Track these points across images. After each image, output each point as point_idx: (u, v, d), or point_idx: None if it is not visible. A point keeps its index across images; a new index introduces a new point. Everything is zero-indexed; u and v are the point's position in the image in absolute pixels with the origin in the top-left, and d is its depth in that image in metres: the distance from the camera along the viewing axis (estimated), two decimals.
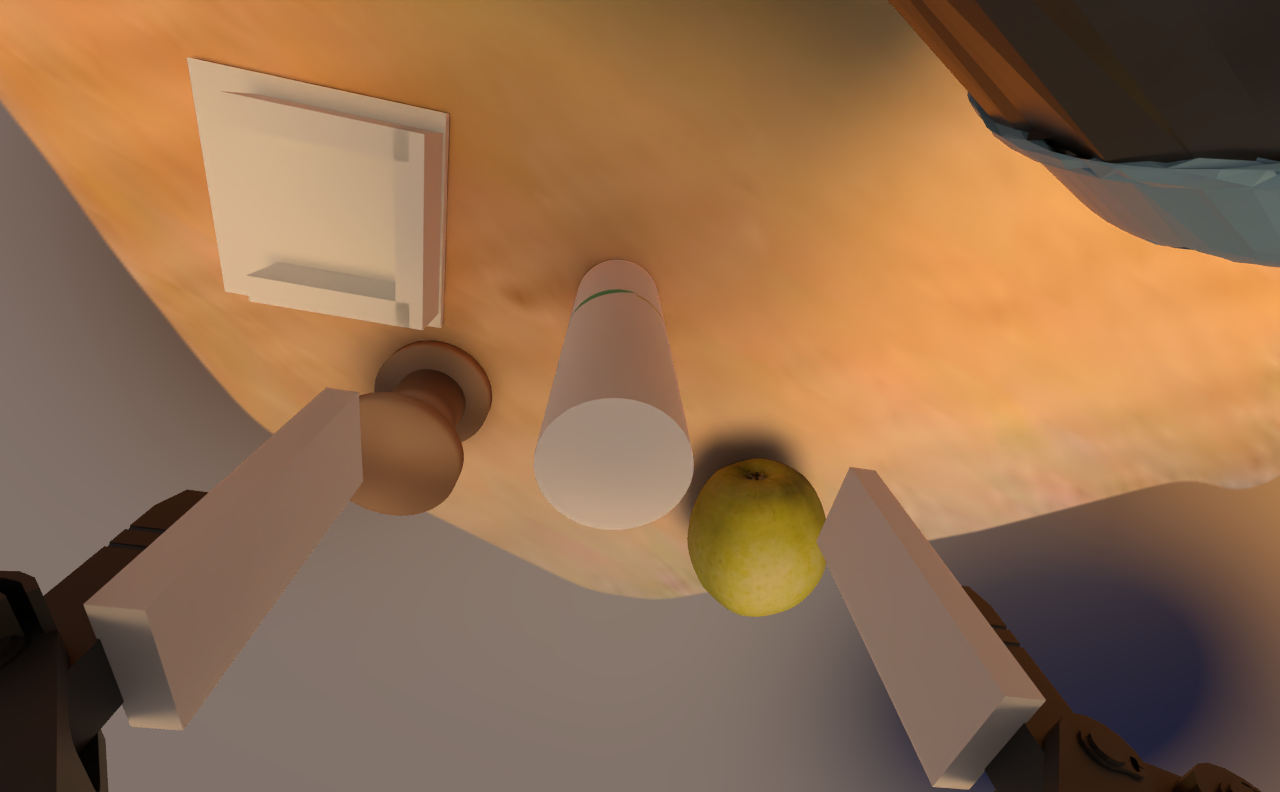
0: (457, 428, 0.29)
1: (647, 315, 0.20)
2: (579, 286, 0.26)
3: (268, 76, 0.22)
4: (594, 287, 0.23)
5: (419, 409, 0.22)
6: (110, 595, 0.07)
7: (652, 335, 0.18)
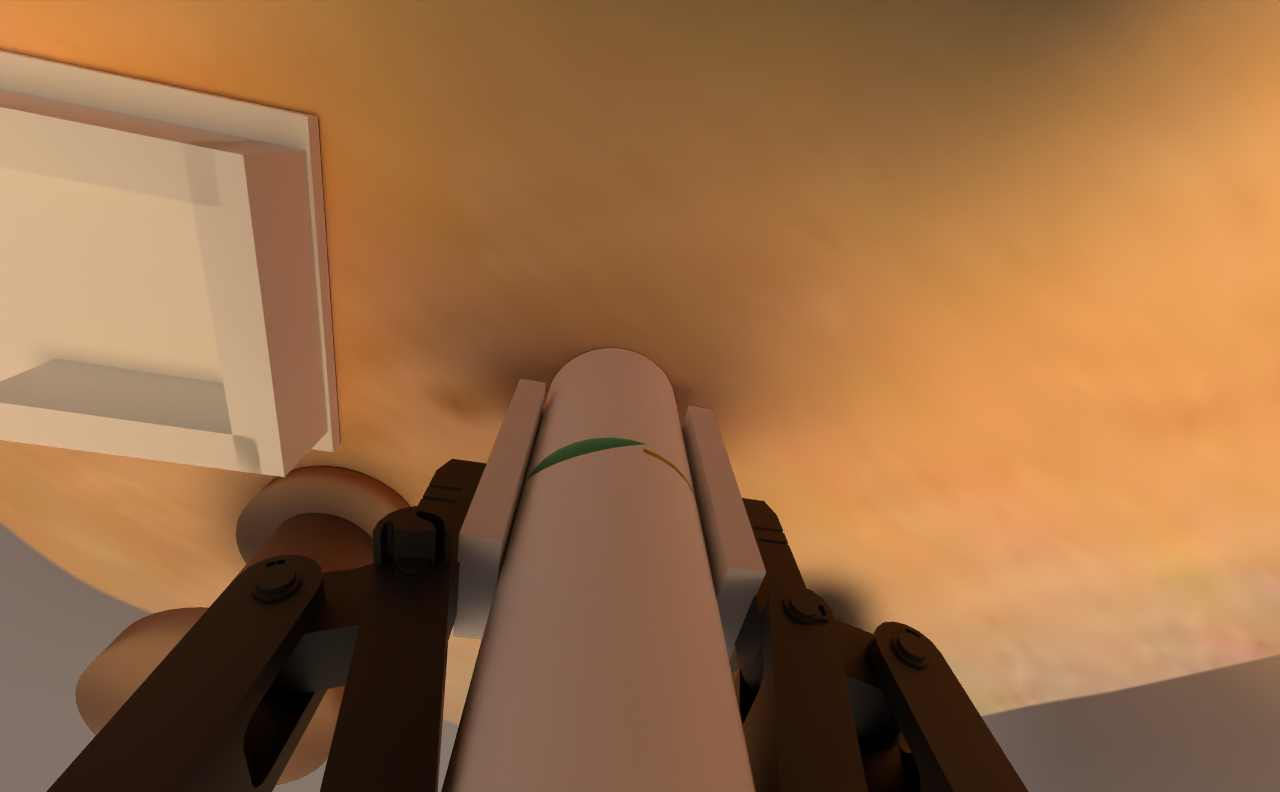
0: None
1: (667, 515, 0.10)
2: (549, 393, 0.16)
3: None
4: (568, 422, 0.13)
5: None
6: (472, 528, 0.10)
7: (682, 600, 0.08)
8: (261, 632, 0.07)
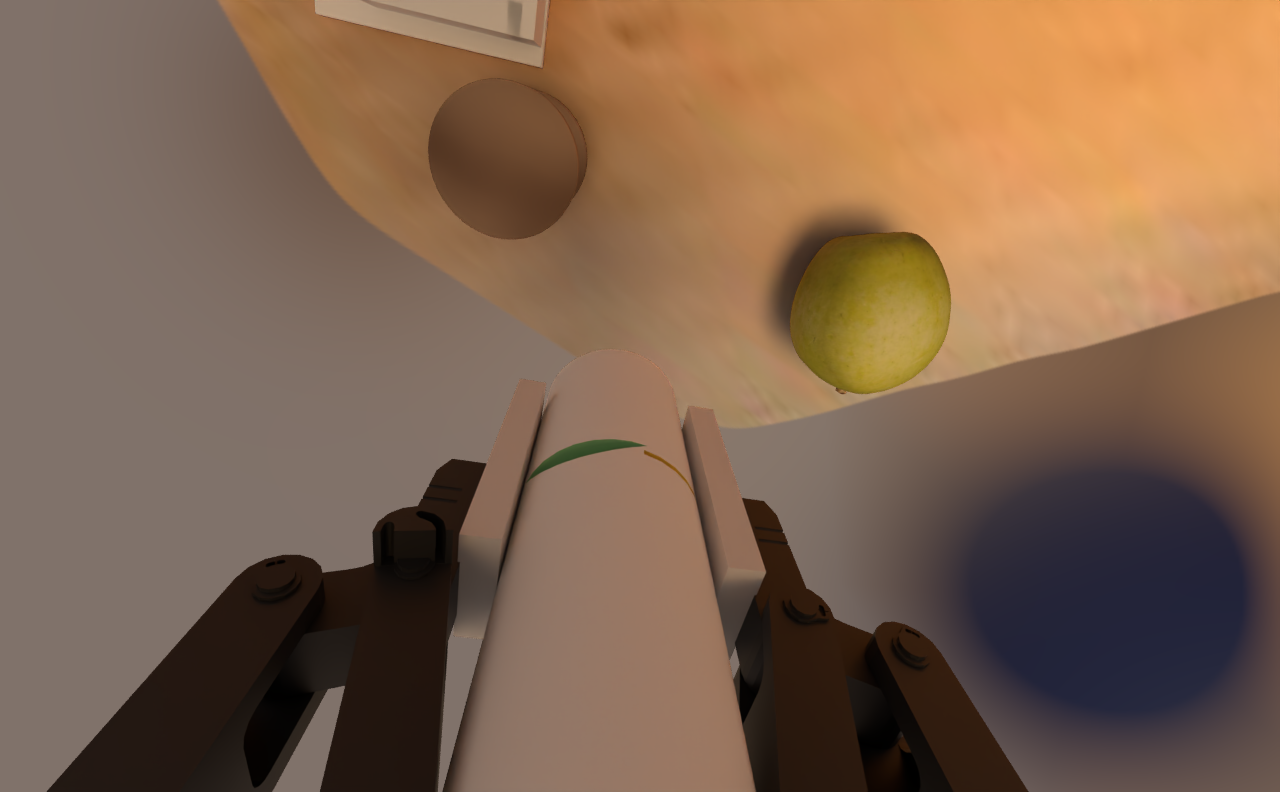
0: None
1: (667, 518, 0.10)
2: (549, 394, 0.16)
3: None
4: (568, 423, 0.13)
5: (541, 95, 0.21)
6: (472, 528, 0.10)
7: (683, 603, 0.08)
8: (261, 632, 0.07)
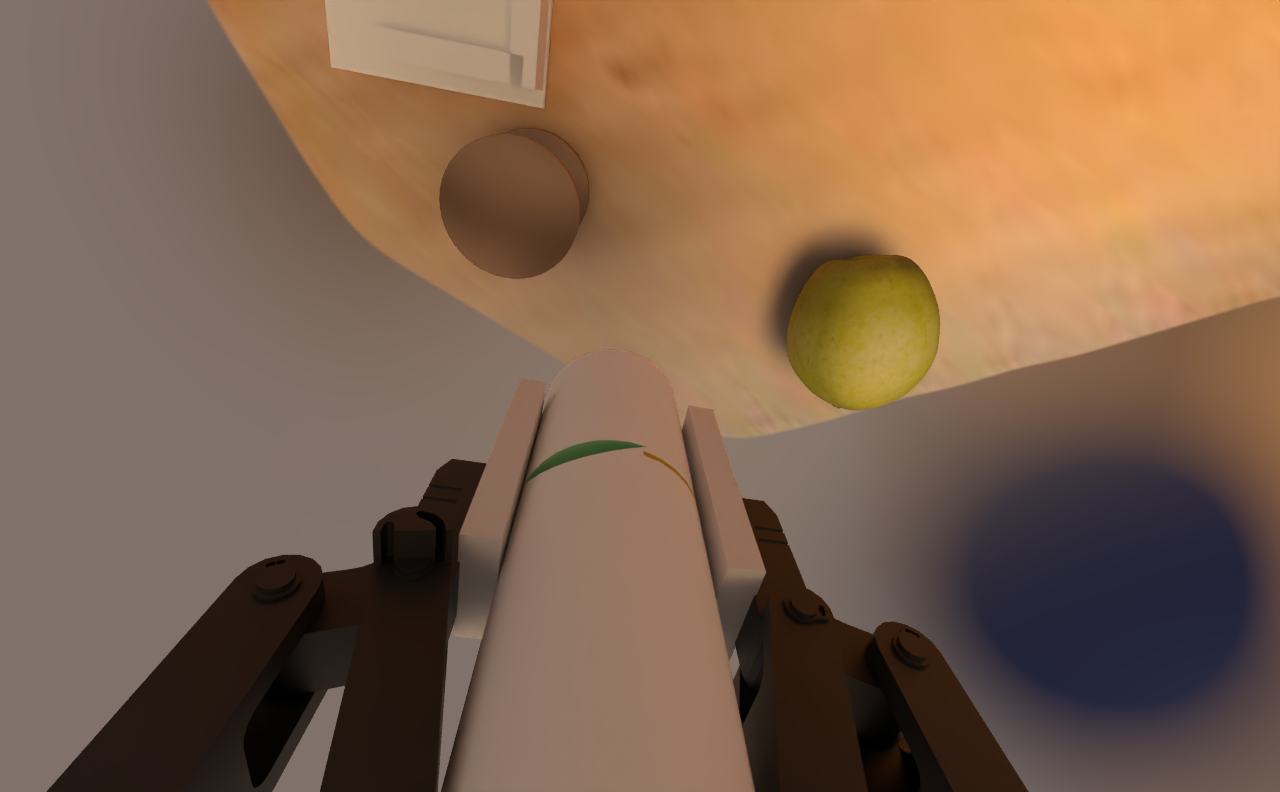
0: None
1: (667, 519, 0.10)
2: (549, 394, 0.16)
3: None
4: (568, 424, 0.13)
5: (543, 147, 0.22)
6: (472, 528, 0.10)
7: (683, 605, 0.08)
8: (261, 632, 0.07)
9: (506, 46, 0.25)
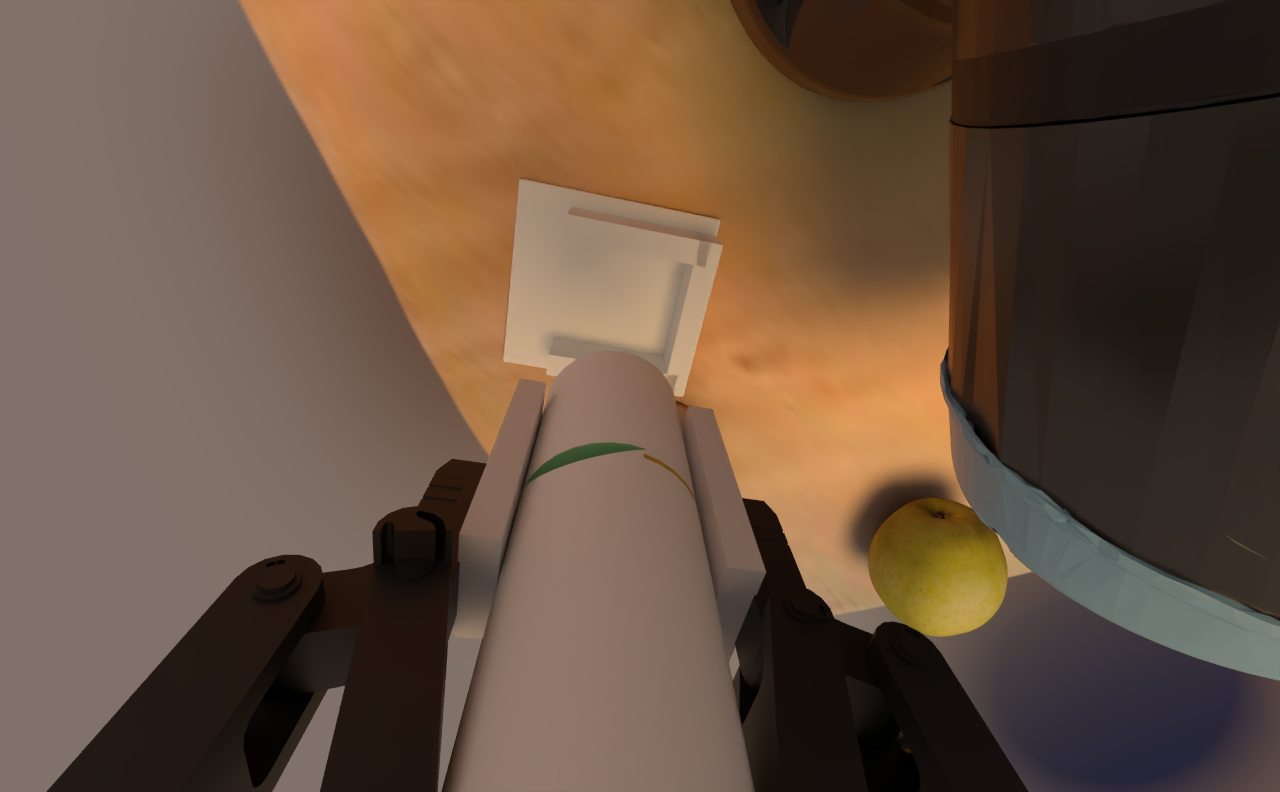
0: None
1: (667, 522, 0.10)
2: (548, 396, 0.16)
3: (582, 193, 0.27)
4: (567, 426, 0.13)
5: None
6: (472, 528, 0.10)
7: (683, 610, 0.08)
8: (261, 632, 0.07)
9: (653, 348, 0.30)
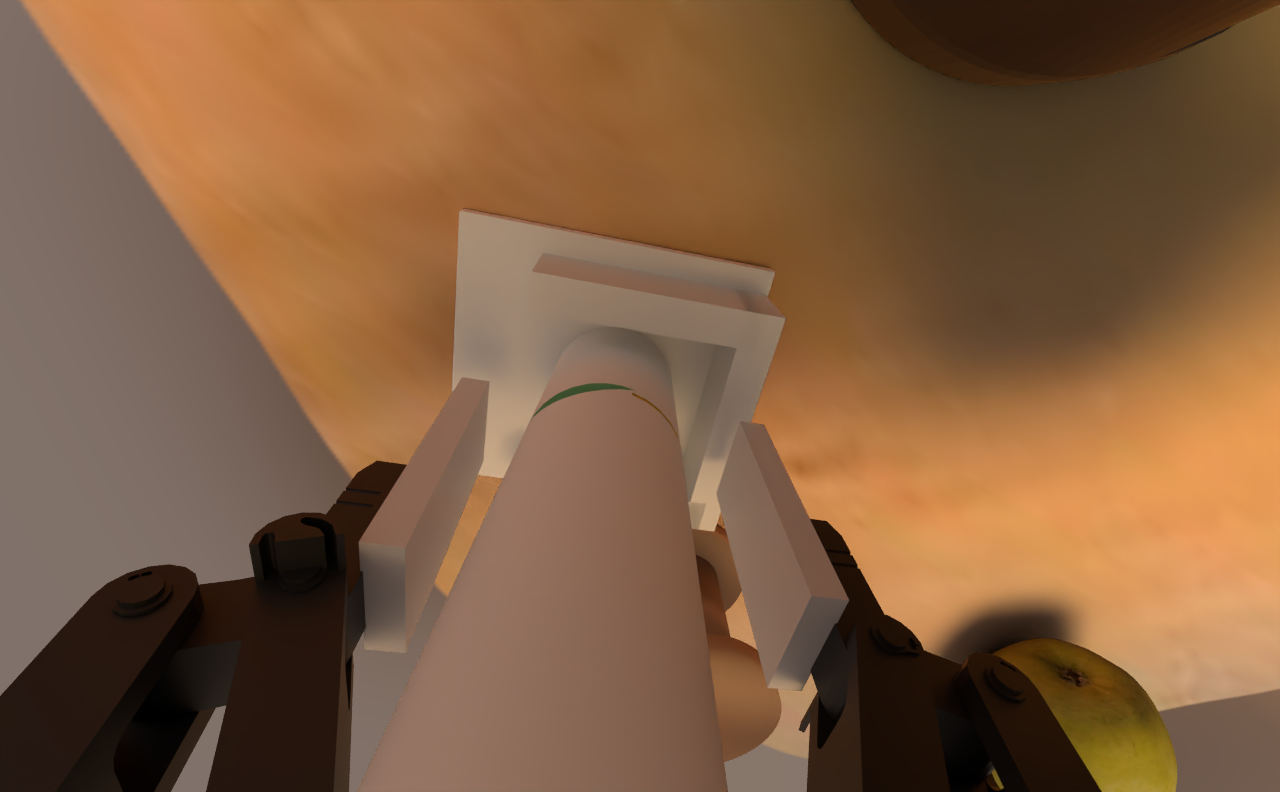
0: None
1: (647, 437, 0.11)
2: None
3: (559, 231, 0.17)
4: (568, 376, 0.14)
5: (747, 659, 0.17)
6: (374, 535, 0.09)
7: (652, 488, 0.10)
8: (126, 648, 0.07)
9: None
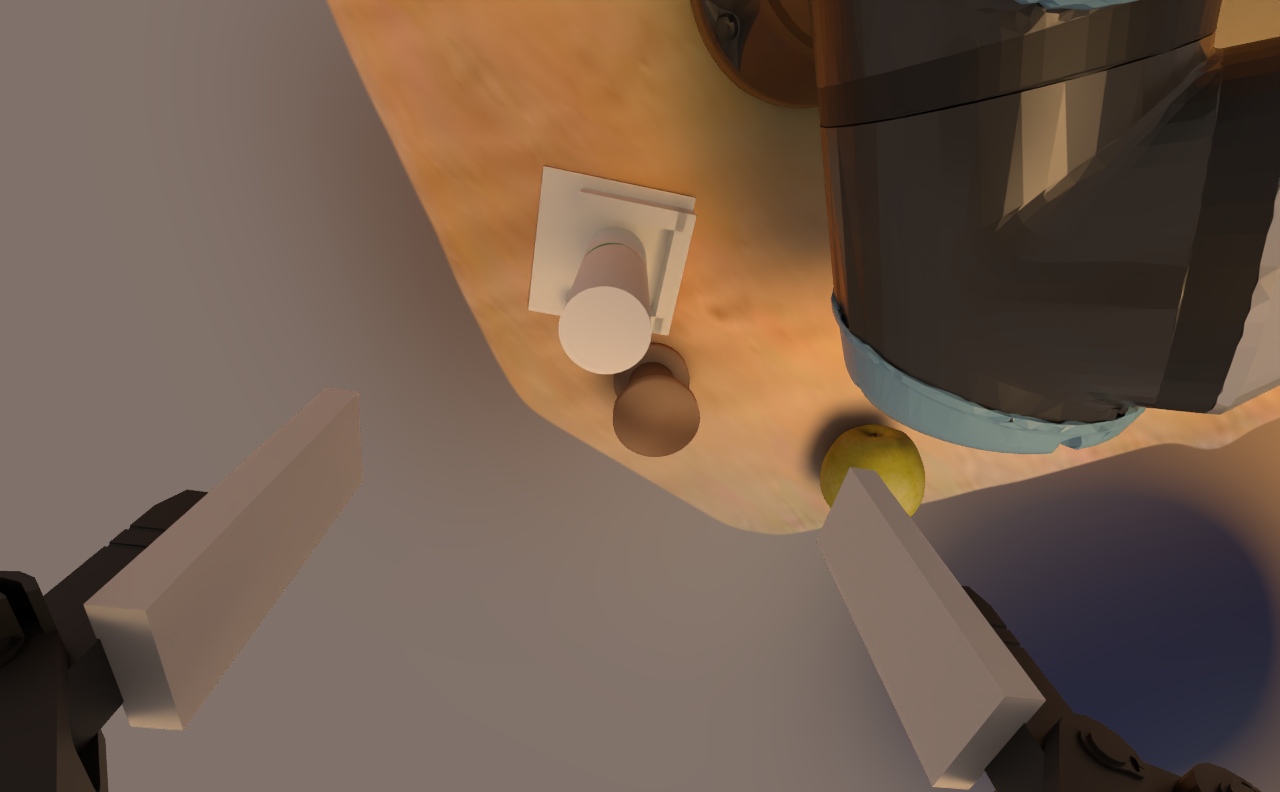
0: None
1: (632, 257, 0.30)
2: (588, 246, 0.36)
3: (590, 177, 0.35)
4: (598, 242, 0.33)
5: (681, 385, 0.36)
6: (110, 595, 0.07)
7: (633, 266, 0.28)
8: None
9: None
